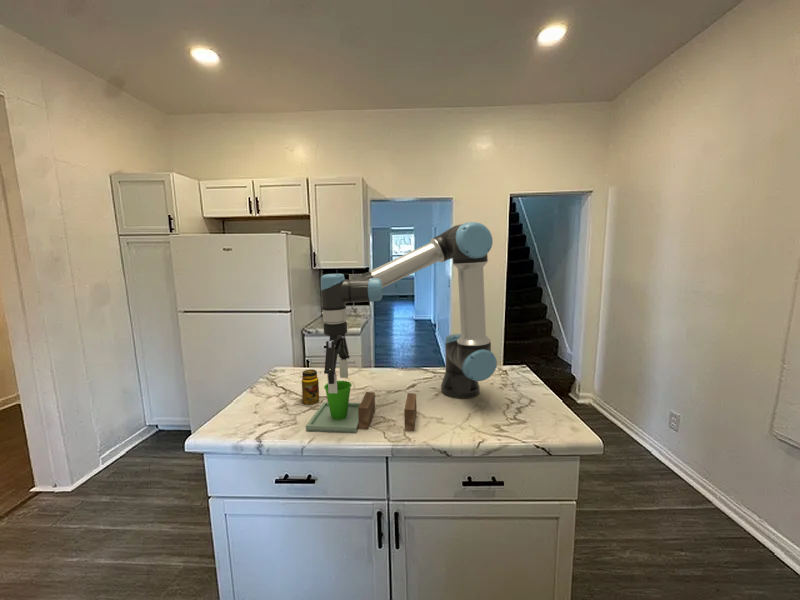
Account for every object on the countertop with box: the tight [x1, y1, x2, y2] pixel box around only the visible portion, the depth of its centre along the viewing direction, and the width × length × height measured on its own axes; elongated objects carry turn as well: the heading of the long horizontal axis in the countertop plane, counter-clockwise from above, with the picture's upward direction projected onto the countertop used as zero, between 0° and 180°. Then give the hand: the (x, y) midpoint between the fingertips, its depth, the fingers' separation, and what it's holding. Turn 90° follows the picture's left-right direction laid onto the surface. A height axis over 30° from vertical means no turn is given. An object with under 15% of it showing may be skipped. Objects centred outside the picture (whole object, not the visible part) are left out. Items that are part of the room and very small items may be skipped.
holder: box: [358, 391, 418, 432], centre depth 117 cm, size 18×13×7 cm
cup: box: [323, 380, 352, 420], centre depth 118 cm, size 9×9×11 cm
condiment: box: [294, 368, 324, 408], centre depth 132 cm, size 7×8×12 cm
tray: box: [305, 401, 361, 434], centre depth 119 cm, size 16×18×2 cm
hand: (338, 384), depth 117 cm, fingers open, 13 cm apart
